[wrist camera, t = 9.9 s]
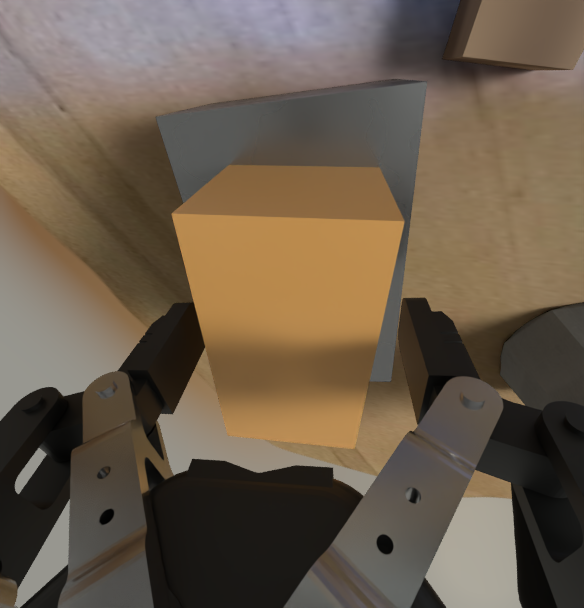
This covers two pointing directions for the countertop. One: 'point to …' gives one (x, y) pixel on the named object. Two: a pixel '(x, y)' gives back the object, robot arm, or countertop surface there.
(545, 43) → the walnut offcut
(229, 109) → the stand
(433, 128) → the countertop surface
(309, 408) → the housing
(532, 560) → the coffeepot
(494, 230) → the countertop surface
